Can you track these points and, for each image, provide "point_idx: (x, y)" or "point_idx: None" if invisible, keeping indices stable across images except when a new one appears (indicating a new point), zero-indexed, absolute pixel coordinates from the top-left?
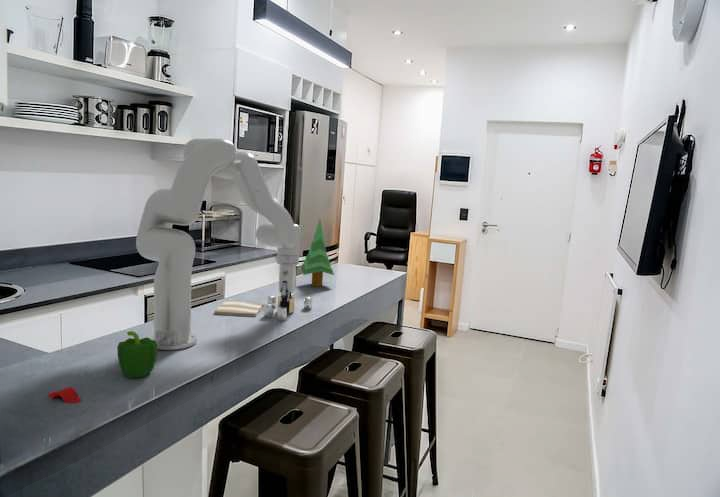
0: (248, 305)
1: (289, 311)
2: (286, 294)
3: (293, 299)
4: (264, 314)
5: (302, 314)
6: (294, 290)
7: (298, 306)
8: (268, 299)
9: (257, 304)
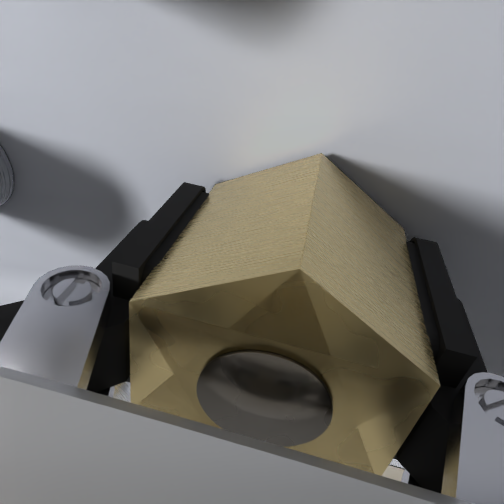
0: None
1: (395, 231)
2: (94, 380)
3: (333, 274)
4: None
5: (458, 11)
6: (320, 484)
7: (3, 53)
8: None
9: None
